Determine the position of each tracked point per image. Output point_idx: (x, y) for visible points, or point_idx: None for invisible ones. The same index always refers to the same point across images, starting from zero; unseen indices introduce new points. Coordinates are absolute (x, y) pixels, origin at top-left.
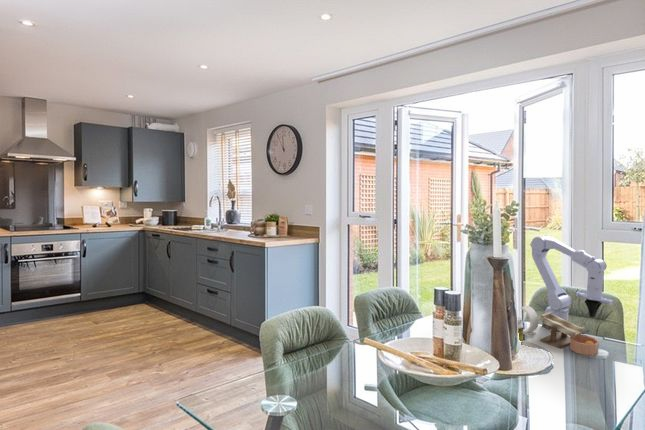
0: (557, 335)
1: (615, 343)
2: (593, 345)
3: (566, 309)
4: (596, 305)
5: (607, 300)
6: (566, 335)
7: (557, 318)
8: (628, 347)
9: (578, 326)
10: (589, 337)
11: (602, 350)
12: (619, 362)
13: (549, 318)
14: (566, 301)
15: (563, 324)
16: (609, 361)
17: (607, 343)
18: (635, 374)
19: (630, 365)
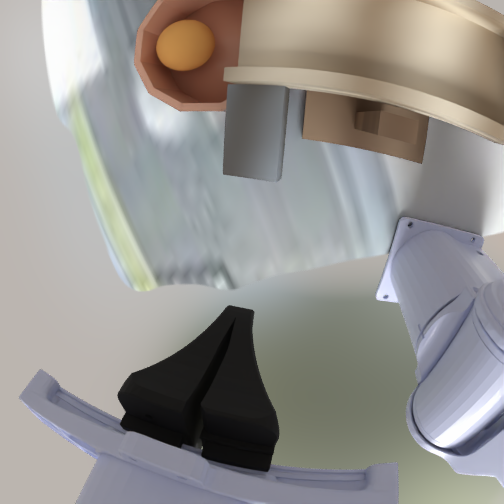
0: (401, 114)
1: (171, 252)
2: (146, 19)
3: (431, 346)
4: (132, 375)
5: (35, 411)
6: (358, 120)
7: (461, 107)
8: (130, 246)
9: (266, 80)
10: (203, 103)
11: (166, 123)
12: (91, 71)
13: (498, 99)
14: (452, 393)
15: (390, 73)
16: (113, 44)
17: (189, 227)
18: (50, 43)
19: (67, 85)
